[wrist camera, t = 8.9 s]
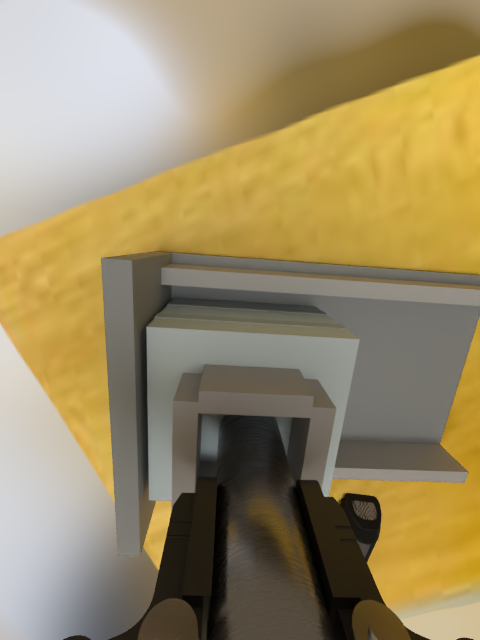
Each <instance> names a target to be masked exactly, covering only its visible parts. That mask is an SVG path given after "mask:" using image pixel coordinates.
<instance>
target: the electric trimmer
mask: <svg viewBox="0 0 480 640" xmlns="http://www.w3.org/2000/svg"><path fill="white" fill-rule="evenodd" d="M341 507H342V508H343V509H344V511H345V513H346V516H347V518H348V520H349V523H350V525H351V529H352V530H353V532H354V534H355V537H356V539H357V543H358V544H359V546H360V548H361V551H362V553H363V555H364V558H365V560H366V562H367V561H368V559H369V556H370V554H371V552H372V550H373V548H374V546H375V543H376V541H377V540H378V538H379V533H380V524H381V509H380V504H379V502H378V500H377V499H376V498H375V497H373V496H367V495H359V494H350V493H348V494H347V495H346V498H343V499H342V500H341Z"/></svg>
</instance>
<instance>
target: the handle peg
mask: <svg viewBox="0 0 480 640" xmlns="http://www.w3.org/2000/svg"><path fill="white" fill-rule="evenodd" d="M216 477H218V478H217V498H216V517H215V537H214V556H213V576H212V595H211V610H210V617H209V619H208V623H207V634H206V640H335V636H334V633H333V629H332V625H331V621H330V618H329V614H328V610H327V606H326V603H325V599H324V595H323V591H322V588H321V584H320V580H319V576H318V572H317V569H316V565H315V561H314V557H313V554H312V550H311V546H310V542H309V539H308V535H307V531H306V527H305V524H304V520H303V516H302V512H301V508H300V505H299V501H298V497H297V493H296V490H295V486H294V482H293V478H292V475H291V471H290V467H289V463H288V460H287V456H286V452H285V448H284V444H283V441H282V437H281V433H280V429H279V426H278V422H277V420H276V418H275V417H274V416H250V415H227V414H226V415H225V416H224V417H223V419H222V421H221V423H220V426H219V433H218V450H217V467H216Z"/></svg>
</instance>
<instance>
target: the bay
mask: <svg viewBox="0 0 480 640" xmlns="http://www.w3.org/2000/svg"><path fill="white" fill-rule="evenodd" d="M101 264H102V282H103V299H104V317H105V335H106V352H107V370H108V388H109V406H110V423H111V441H112V459H113V476H114V494H115V512H116V530H117V547H118V556H140V555H141V552H142V548H143V545H144V541H145V538H146V534H147V531H148V527H149V524H150V520H151V517H152V513H153V509H154V506H155V502H156V500H149V462H148V398H147V334H146V327H147V326H148V325H149V324H150V323H151V322H152V321H153V320H154V317H155V316H156V315H157V314H158V313H160V312H161V311H162V310H163V309H164V308H165V307H166V306H167V304H168V303H169V302H171V301H172V300H173V299H174V298H189V299H204V300H220V301H235V302H251V303H266V304H281V305H297V306H312V307H317V308H318V309H320V310H321V311H324V312H325V313H327V314H328V316H329V317H330V318H332V319H333V320H334V321H336V322H337V323H338V324H342V325H343V326H345V327H346V328H347V330H348V331H349V332H351V333H352V334H353V335H355V336H356V337H357V338H359V339H360V341H359V346H358V351H357V356H356V361H355V366H354V371H353V376H352V381H351V386H350V391H349V396H348V401H347V406H346V412H345V417H344V422H343V427H342V432H341V437H340V442H339V447H338V452H337V457H336V462H335V467H334V472H333V477H332V479H356V480H388V481H421V482H453V483H465V481H466V478H467V475H468V471H467V470H466V469H465V468H464V467H463V466H462V465H461V464H460V463H459V462H457V461H456V460H455V459H454V458H453V457H452V456H451V455H450V454H449V453H448V452H447V451H446V450H445V449H444V448H443V447H442V446H441V445H440V441H441V438H442V435H443V432H444V429H445V425H446V422H447V419H448V416H449V412H450V409H451V406H452V403H453V400H454V396H455V393H456V390H457V387H458V383H459V380H460V377H461V374H462V371H463V367H464V364H465V361H466V358H467V354H468V351H469V348H470V345H471V342H472V338H473V335H474V332H475V329H476V325H477V322H478V319H479V316H480V275H472V274H459V273H445V272H432V271H418V270H405V269H391V268H377V267H364V266H350V265H337V264H323V263H309V262H296V261H282V260H269V259H255V258H242V257H228V256H214V255H201V254H187V253H174V252H160V251H156V252H148V253H139V254H131V255H123V256H115V257H107V258H101Z"/></svg>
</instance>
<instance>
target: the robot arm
mask: <svg viewBox="0 0 480 640" xmlns="http://www.w3.org/2000/svg"><path fill="white" fill-rule="evenodd" d="M217 478H218V477H206V476H198V480H197V487H196V493H181V495H180V496H179V498H178V499H177V501H176V502H175V504H174V505H173V508H172V513H171V517H170V523H169V527H168V531H167V537H166V541H165V545H164V550H163V555H162V559H161V564H160V569H159V573H158V578H157V583H156V587H155V593H154V596H153V600H152V602H151V604H150V606H149V608H148V610H147V611H146V613H145V614H144V616H143V617H142V618H141V619H140V621H139V622H138V623H137V624H136V625H134V626H133V627H132V628H131V629H129V630H128V631H126V632H125V633H123V634H121V635H118V636H116V637H114V638H111V639H109V640H206V634H207V623H208V619H209V617H210V610H211V595H212V576H213V556H214V537H215V517H216V498H217ZM295 490H296V493H297V497H298V501H299V505H300V508H301V512H302V516H303V520H304V524H305V527H306V531H307V535H308V539H309V542H310V546H311V550H312V554H313V557H314V561H315V565H316V569H317V572H318V576H319V580H320V584H321V588H322V591H323V595H324V599H325V603H326V606H327V610H328V614H329V618H330V621H331V625H332V629H333V633H334V636H335V640H430V639H427V638H425V637H422V636H420V635H418V634H415V633H414V632H412V631H411V630H409V629H408V628H406V627H405V626H404V625H403V623H402V622H401V620H400V619H399V618H398V617H397V616H396V614H395V613H394V612H393V611H391V610H390V609H389V608H388V607H387V606H386V605H385V603H384V601H383V599H382V597H381V595H380V593H379V591H378V588H377V586H376V584H375V581H374V579H373V577H372V574H371V572H370V570H369V567H368V565H367V562H366V560H365V558H364V555H363V553H362V551H361V548H360V546H359V544H358V543H357V539H356V537H355V534H354V532H353V530H352V529H351V525H350V523H349V520H348V518H347V516H346V513H345V511H344V509H343V508H342V507H341V506H340V505H339V504H338V502H337V501H336V500H335V499H334V498H333V497H324V495H323V492H322V490H321V487H320V484H319V482H318V481H317V480H297V481H296V484H295ZM63 640H91V639H89V638H87V637H86V636H81V635H78V636H71V637H68V638H66V639H63ZM457 640H473V639H469V638H459V639H457Z"/></svg>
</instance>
